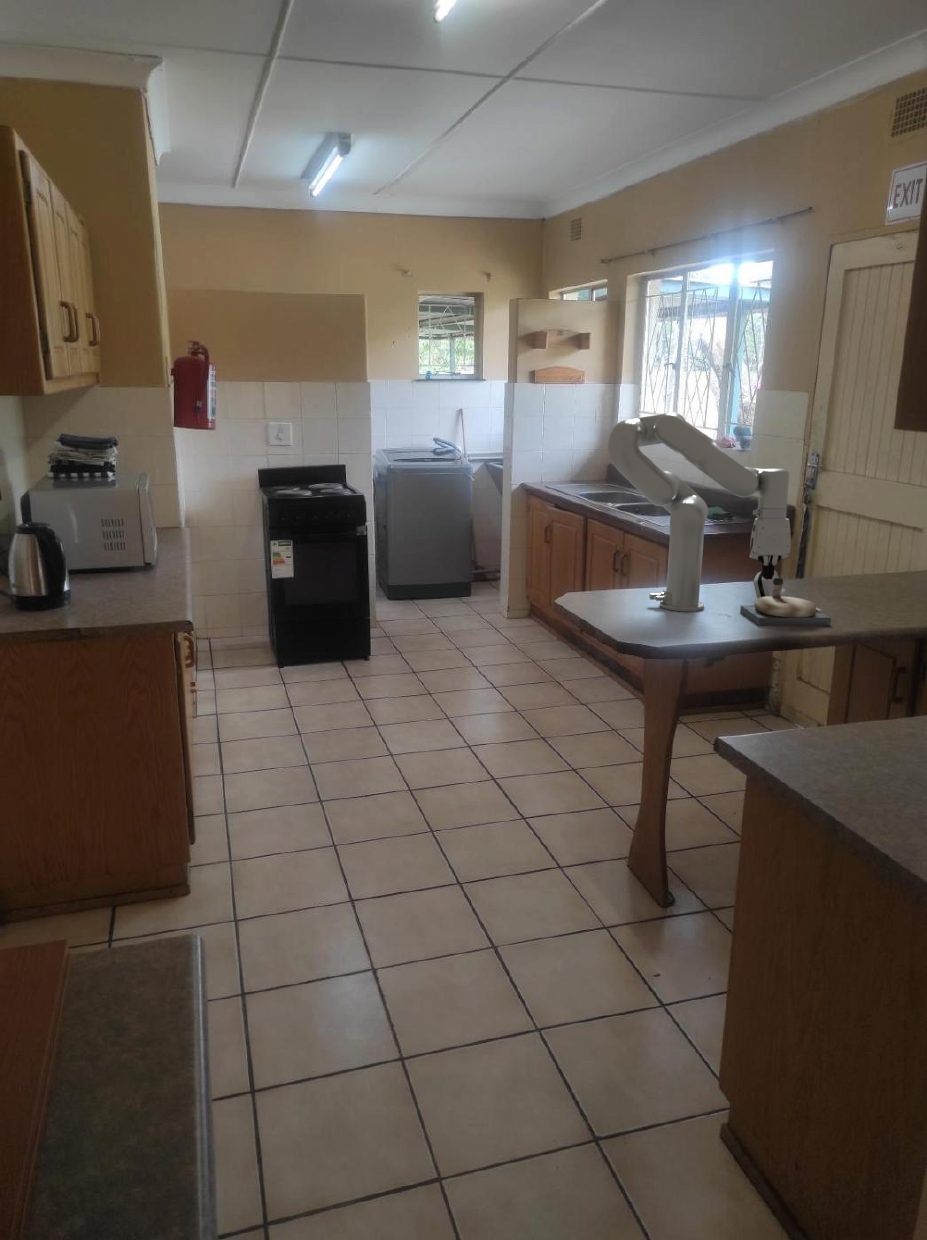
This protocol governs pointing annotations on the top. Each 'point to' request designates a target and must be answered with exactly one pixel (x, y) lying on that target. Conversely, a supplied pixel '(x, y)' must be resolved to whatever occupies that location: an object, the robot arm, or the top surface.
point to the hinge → (765, 586)
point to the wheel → (784, 603)
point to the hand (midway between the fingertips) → (767, 578)
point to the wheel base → (783, 618)
